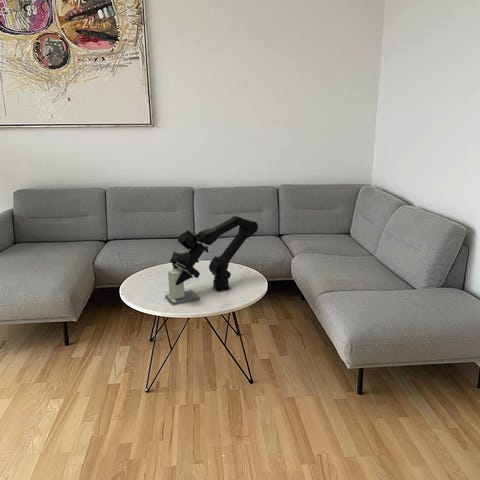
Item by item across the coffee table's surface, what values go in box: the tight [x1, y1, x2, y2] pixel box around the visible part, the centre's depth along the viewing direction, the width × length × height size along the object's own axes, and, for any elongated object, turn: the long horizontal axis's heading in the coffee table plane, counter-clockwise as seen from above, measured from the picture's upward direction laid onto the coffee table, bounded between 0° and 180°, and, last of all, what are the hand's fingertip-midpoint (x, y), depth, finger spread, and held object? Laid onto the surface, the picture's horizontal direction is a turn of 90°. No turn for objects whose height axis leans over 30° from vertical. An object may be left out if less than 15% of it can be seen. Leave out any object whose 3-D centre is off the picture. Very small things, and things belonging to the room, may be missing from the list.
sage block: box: [167, 268, 185, 299], centre depth 200 cm, size 5×5×12 cm
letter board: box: [165, 289, 201, 306], centre depth 205 cm, size 13×10×1 cm
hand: (173, 282), depth 199 cm, fingers closed on sage block, 5 cm apart
